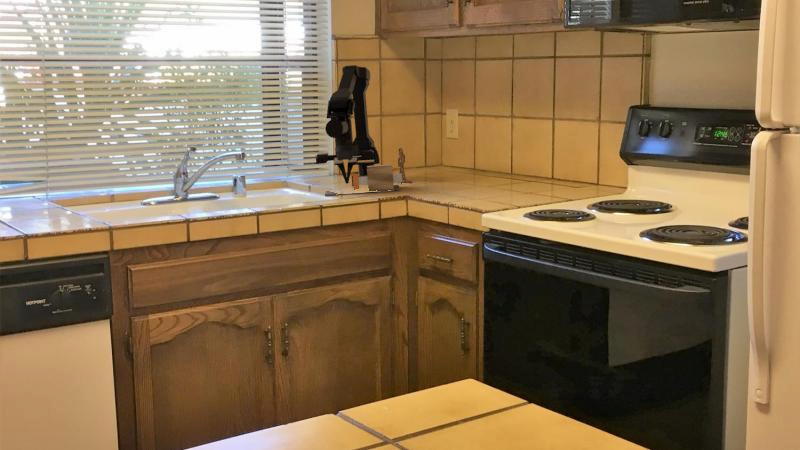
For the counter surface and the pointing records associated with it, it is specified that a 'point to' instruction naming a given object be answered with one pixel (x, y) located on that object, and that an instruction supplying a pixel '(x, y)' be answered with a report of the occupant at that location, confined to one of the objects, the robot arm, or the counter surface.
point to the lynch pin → (364, 179)
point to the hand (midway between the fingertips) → (347, 183)
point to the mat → (396, 187)
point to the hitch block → (380, 177)
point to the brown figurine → (402, 166)
